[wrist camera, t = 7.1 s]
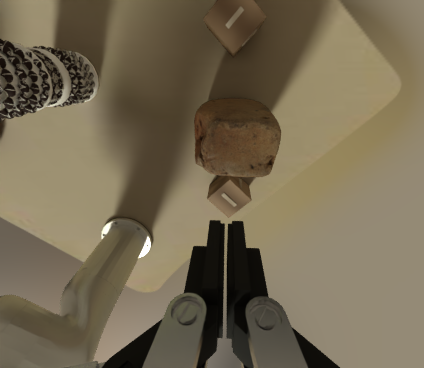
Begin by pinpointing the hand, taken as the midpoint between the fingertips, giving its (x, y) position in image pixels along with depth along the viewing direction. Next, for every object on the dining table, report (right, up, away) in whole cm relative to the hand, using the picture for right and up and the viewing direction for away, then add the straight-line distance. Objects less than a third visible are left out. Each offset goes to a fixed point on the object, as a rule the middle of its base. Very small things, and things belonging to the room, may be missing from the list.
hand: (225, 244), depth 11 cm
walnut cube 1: (+3, +3, +36) cm, 36 cm away
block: (+3, +15, +30) cm, 34 cm away
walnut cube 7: (+3, +28, +23) cm, 37 cm away
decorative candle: (-25, +22, +29) cm, 44 cm away
